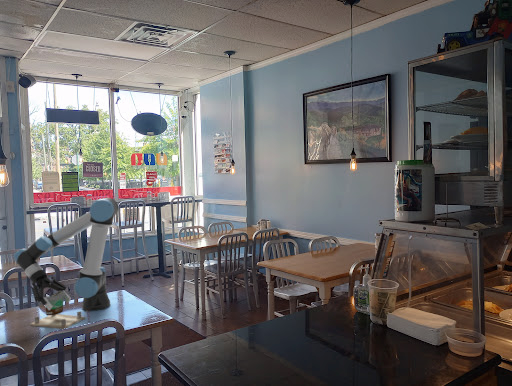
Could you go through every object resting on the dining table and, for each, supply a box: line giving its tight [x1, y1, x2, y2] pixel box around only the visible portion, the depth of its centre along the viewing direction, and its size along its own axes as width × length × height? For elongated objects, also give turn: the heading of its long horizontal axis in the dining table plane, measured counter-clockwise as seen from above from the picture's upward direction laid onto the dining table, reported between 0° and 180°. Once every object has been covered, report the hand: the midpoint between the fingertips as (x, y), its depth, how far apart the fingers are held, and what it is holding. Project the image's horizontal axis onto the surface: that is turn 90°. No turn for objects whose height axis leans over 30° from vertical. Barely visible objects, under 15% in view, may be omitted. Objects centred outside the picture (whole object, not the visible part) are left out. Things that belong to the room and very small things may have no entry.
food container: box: [44, 290, 65, 316], centre depth 211 cm, size 12×6×10 cm, turn 169°
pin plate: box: [30, 311, 86, 330], centre depth 211 cm, size 15×21×4 cm
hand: (60, 304), depth 209 cm, fingers closed on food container, 12 cm apart
